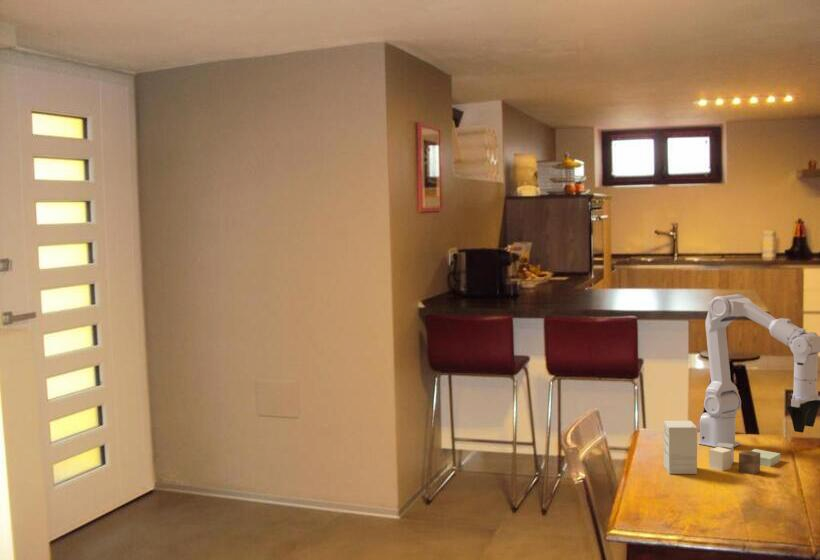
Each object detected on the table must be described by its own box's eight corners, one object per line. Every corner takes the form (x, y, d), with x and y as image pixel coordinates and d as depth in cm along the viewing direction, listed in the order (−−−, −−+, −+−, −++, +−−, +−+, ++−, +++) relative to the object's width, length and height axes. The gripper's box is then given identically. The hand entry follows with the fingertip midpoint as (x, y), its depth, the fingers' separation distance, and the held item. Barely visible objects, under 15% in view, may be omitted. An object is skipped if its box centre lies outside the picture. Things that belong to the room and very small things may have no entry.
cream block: (709, 467, 231) (709, 449, 230) (718, 464, 233) (718, 446, 232) (722, 471, 227) (722, 452, 227) (731, 468, 230) (731, 450, 229)
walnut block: (738, 471, 227) (738, 453, 226) (744, 468, 229) (745, 450, 229) (753, 475, 224) (754, 456, 223) (759, 471, 227) (760, 452, 226)
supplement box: (690, 466, 232) (691, 420, 231) (697, 474, 224) (698, 427, 223) (662, 465, 233) (663, 419, 231) (668, 474, 225) (668, 426, 224)
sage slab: (744, 463, 235) (744, 454, 235) (754, 457, 240) (754, 448, 240) (770, 468, 230) (770, 459, 230) (780, 462, 235) (780, 453, 235)
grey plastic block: (715, 464, 234) (715, 445, 233) (718, 460, 237) (718, 442, 237) (731, 466, 232) (731, 447, 231) (733, 462, 235) (733, 444, 235)
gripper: (811, 385, 220) (810, 437, 222) (830, 376, 231) (828, 426, 232) (783, 381, 225) (782, 432, 227) (803, 373, 236) (801, 421, 237)
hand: (803, 428), depth 230 cm, fingers open, 7 cm apart
